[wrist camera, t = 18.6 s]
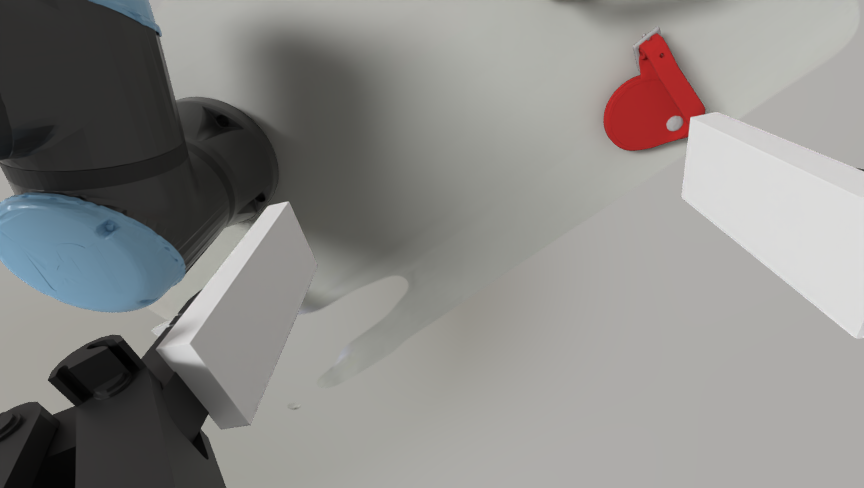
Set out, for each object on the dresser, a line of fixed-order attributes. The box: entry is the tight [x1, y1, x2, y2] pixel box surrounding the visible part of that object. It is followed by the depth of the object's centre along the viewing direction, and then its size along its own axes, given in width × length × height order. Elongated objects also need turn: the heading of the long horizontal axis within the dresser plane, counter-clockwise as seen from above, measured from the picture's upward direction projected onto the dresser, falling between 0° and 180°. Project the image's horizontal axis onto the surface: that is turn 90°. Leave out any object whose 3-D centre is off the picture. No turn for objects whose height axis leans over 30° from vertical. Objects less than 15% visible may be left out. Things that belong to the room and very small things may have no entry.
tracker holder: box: [604, 27, 705, 151], centre depth 43 cm, size 12×4×10 cm
